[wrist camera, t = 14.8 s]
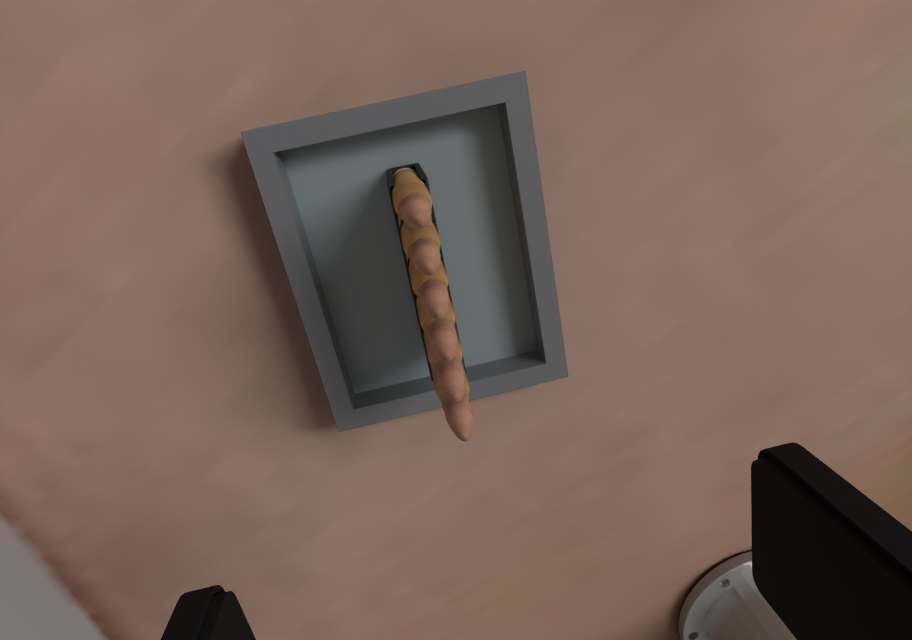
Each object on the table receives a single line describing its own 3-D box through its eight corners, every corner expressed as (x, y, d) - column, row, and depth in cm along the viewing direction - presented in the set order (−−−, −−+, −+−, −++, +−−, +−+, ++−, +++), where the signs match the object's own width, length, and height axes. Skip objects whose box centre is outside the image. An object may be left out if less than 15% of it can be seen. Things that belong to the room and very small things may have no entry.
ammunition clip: (385, 168, 29) (385, 199, 18) (419, 162, 29) (440, 188, 18) (425, 348, 33) (447, 464, 22) (455, 341, 33) (492, 454, 22)
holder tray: (513, 75, 29) (525, 71, 27) (555, 359, 35) (568, 376, 33) (252, 131, 28) (240, 132, 26) (342, 410, 34) (338, 432, 32)
